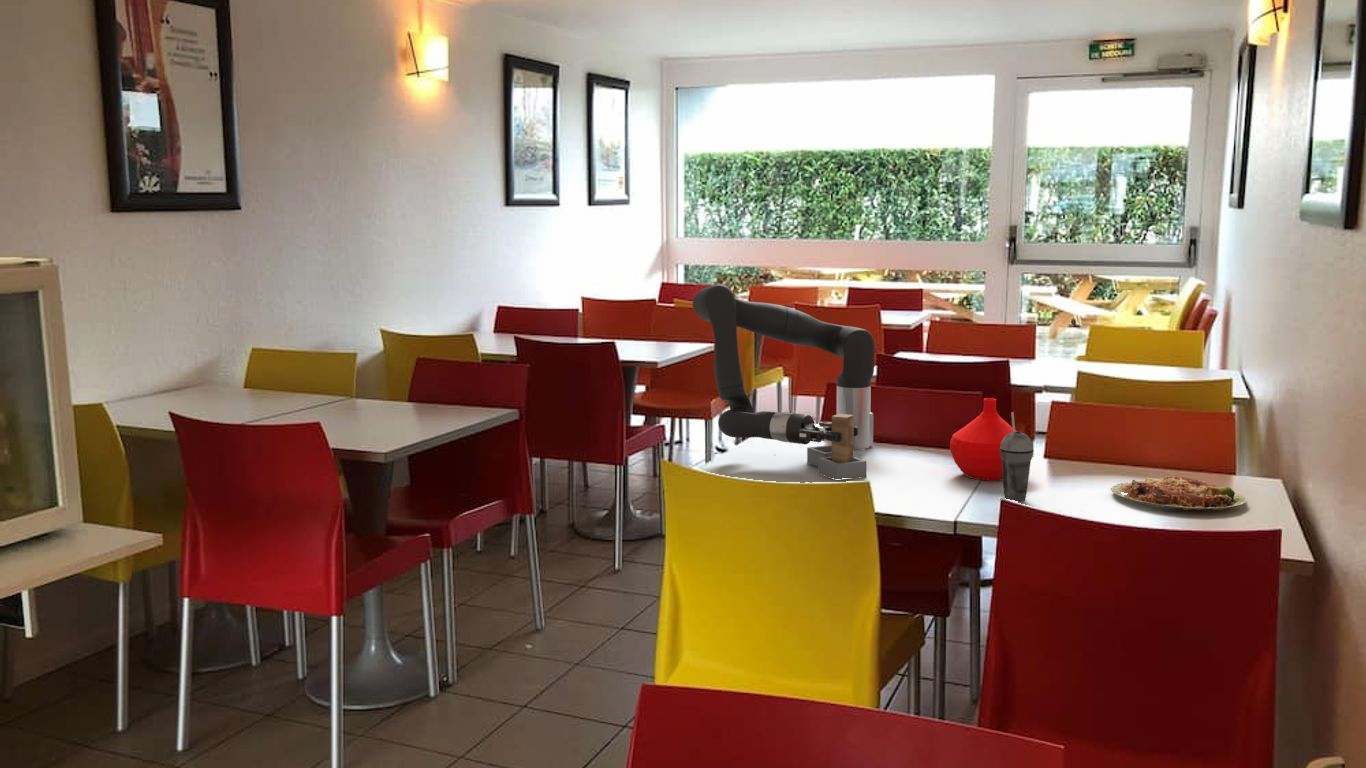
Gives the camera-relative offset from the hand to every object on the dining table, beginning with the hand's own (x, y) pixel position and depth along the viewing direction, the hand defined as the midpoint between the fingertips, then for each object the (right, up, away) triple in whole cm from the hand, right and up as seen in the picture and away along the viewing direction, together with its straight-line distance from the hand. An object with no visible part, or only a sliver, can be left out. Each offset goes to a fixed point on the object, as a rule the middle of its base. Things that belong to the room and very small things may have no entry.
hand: (849, 434), depth 270 cm
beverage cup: (+34, -14, -23) cm, 43 cm away
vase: (+34, -10, 0) cm, 35 cm away
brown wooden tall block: (-1, -9, +3) cm, 10 cm away
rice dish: (+69, -14, -24) cm, 75 cm away
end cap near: (-1, -10, +3) cm, 11 cm away
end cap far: (-3, -8, +15) cm, 18 cm away
